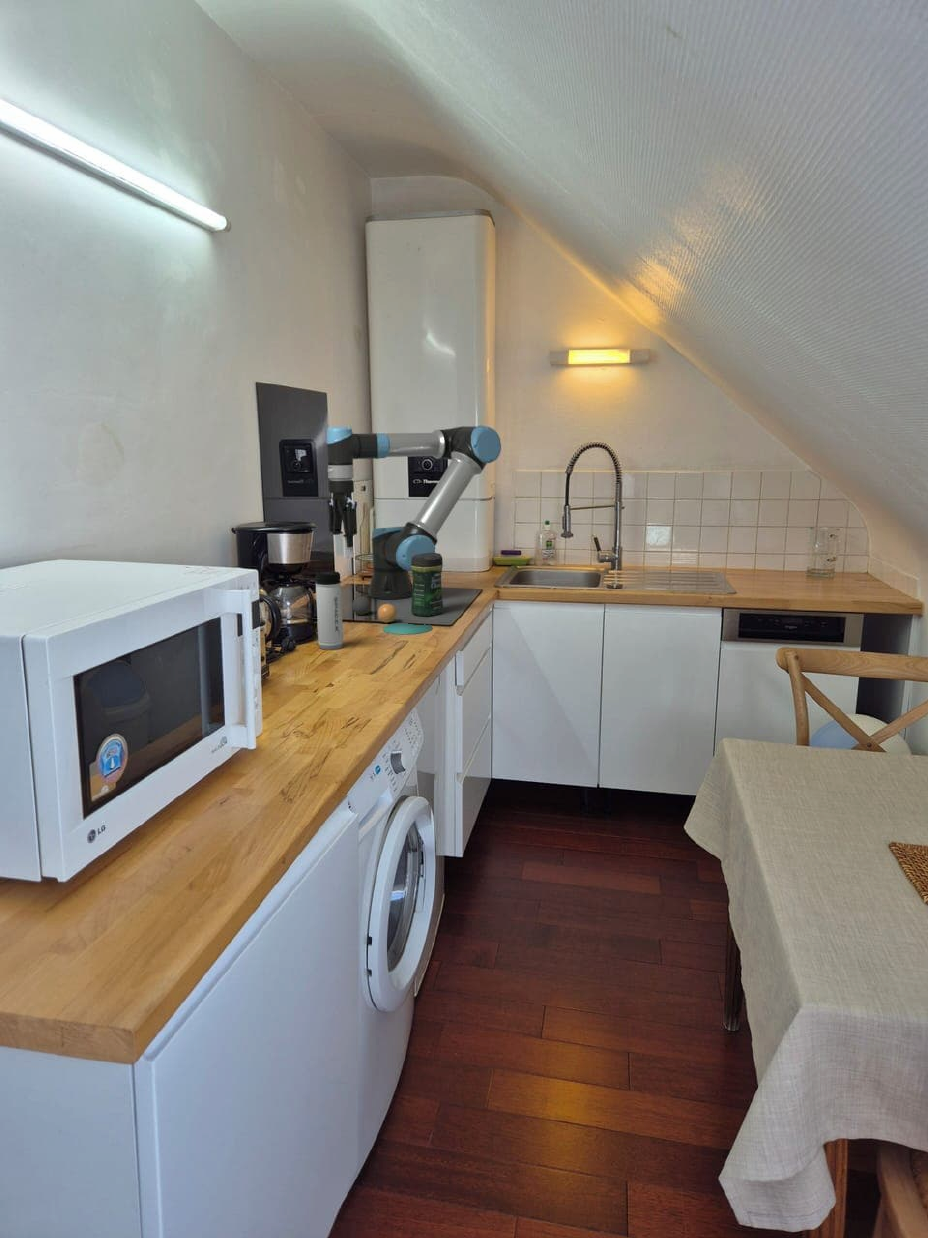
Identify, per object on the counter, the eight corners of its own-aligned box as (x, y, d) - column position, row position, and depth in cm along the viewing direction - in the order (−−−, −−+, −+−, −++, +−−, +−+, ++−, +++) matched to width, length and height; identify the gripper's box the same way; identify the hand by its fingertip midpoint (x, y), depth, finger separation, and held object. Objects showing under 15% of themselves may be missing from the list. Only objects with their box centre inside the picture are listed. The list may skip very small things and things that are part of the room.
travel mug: (318, 644, 214) (314, 568, 210) (344, 643, 215) (341, 567, 210) (316, 650, 208) (312, 572, 204) (342, 649, 208) (339, 571, 204)
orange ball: (388, 619, 242) (388, 601, 241) (400, 622, 238) (400, 603, 237) (374, 622, 238) (373, 603, 237) (386, 625, 234) (385, 606, 233)
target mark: (410, 620, 240) (410, 620, 240) (442, 628, 231) (442, 627, 230) (372, 628, 231) (372, 627, 231) (404, 637, 221) (404, 636, 221)
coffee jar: (427, 618, 243) (426, 556, 239) (407, 615, 248) (405, 553, 244) (448, 612, 251) (447, 552, 247) (428, 609, 256) (427, 550, 252)
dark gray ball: (363, 612, 253) (362, 594, 251) (374, 614, 249) (373, 596, 248) (348, 614, 249) (348, 596, 248) (359, 617, 245) (359, 599, 244)
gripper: (315, 478, 251) (318, 554, 257) (345, 481, 238) (348, 561, 243) (336, 478, 256) (339, 552, 261) (367, 480, 242) (370, 558, 248)
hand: (343, 556), depth 252 cm, fingers open, 5 cm apart
